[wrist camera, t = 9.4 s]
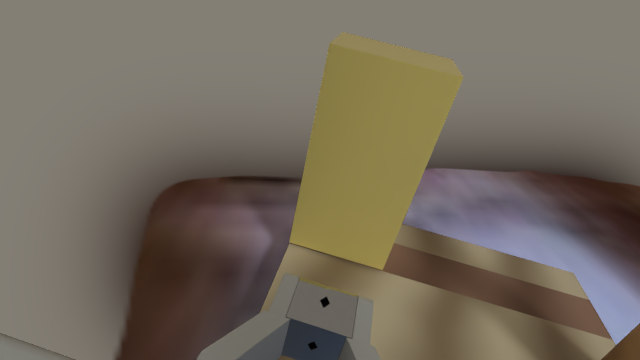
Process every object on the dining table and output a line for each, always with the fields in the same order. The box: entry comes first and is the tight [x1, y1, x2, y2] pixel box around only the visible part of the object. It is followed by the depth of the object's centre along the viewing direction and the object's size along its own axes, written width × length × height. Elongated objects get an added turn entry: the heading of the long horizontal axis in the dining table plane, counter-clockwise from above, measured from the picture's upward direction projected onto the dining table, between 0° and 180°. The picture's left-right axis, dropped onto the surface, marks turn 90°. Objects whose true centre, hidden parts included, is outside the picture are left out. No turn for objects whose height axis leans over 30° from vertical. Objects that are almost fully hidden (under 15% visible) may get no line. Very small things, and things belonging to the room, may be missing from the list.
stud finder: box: [289, 32, 463, 270], centre depth 20 cm, size 4×6×12 cm
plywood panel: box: [260, 224, 616, 360], centre depth 20 cm, size 20×14×1 cm
